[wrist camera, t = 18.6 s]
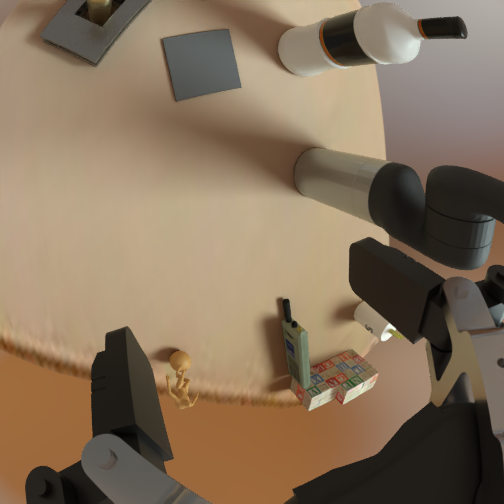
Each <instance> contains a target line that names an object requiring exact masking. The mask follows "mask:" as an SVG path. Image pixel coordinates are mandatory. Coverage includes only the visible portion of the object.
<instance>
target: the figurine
mask: <svg viewBox="0 0 504 504" xmlns="http://www.w3.org/2000/svg"><path fill="white" fill-rule="evenodd" d="M170 365H171V367H172V368H173V369H174V370H176V371H177V372H176V377H177V378H179V379H178V381H177V384H176V389H178V395H177V397H176V396H175V395H174V394H173V393H171V389H170V383H169V379H170V378H171V377H170V378H169V376H168V375H166V380H167V387H168V393H169V395H170V396H171V397H172V398H173V399H174V400H175V402H176V406H177V408H179V409H184V408H186V407H190V406H193V405H194V403H195V401H196V400H197V397H198V393H197V396H196V397H195V398H194V400H193V402H192V403H191V401H190V400H189V397H188V396H187V393H188V387H189V384H190V380H189V379H186V378H184V374H185V372H186V371H187V369H188V368H189V367H190V365H191V359H190V356H189V355H188V354H187V353H186V352H183V351H176V352H174V353H173V354H172V355H171V357H170ZM179 372H182V375H179ZM185 381H186V382H185ZM184 382H185V383H184Z"/></svg>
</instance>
